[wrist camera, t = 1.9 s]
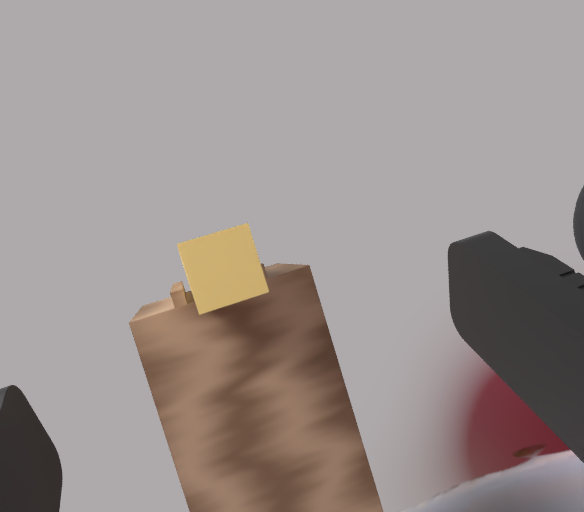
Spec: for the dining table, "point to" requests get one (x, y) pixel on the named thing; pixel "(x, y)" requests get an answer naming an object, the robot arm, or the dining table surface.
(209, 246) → the bar
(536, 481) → the dining table surface
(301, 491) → the stand
